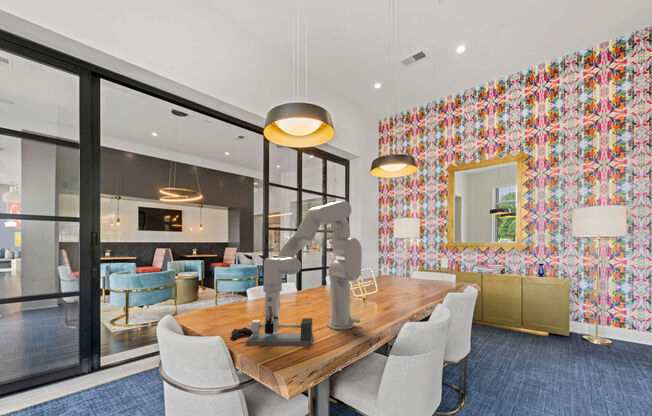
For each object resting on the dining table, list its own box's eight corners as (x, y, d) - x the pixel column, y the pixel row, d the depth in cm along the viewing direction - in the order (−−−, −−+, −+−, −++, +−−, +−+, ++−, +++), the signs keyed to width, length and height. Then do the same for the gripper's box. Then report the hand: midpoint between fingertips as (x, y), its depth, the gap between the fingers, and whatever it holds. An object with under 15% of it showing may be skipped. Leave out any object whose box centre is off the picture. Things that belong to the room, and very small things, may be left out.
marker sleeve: (278, 329, 121) (278, 318, 122) (276, 332, 117) (276, 321, 117) (266, 329, 121) (267, 318, 122) (264, 332, 117) (264, 321, 117)
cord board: (313, 336, 123) (313, 317, 124) (311, 345, 113) (311, 324, 114) (250, 336, 124) (251, 316, 125) (243, 344, 114) (244, 323, 115)
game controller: (234, 339, 118) (230, 326, 122) (230, 346, 121) (227, 333, 125) (255, 334, 124) (252, 322, 128) (252, 341, 127) (248, 329, 131)
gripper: (277, 291, 112) (276, 336, 110) (284, 284, 130) (284, 323, 128) (258, 291, 112) (257, 336, 111) (268, 284, 130) (267, 323, 128)
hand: (271, 329), depth 119 cm, fingers open, 9 cm apart
